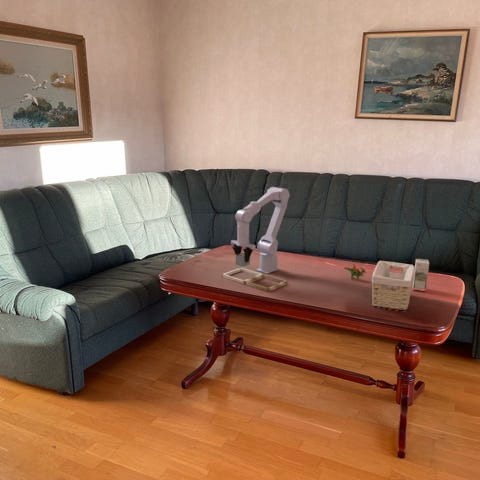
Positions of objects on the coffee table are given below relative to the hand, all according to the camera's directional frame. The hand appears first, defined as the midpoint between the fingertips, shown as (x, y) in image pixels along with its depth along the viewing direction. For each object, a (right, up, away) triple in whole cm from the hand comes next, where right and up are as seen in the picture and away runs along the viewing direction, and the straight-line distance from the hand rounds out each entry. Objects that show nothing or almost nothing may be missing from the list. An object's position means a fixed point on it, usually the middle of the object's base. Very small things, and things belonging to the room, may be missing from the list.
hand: (242, 260), depth 229 cm
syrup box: (+84, -13, -11) cm, 86 cm away
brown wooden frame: (+11, -11, -7) cm, 17 cm away
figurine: (+56, -9, +2) cm, 57 cm away
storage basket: (+66, -17, -25) cm, 72 cm away
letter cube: (0, -2, 0) cm, 2 cm away
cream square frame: (0, -8, +2) cm, 9 cm away
